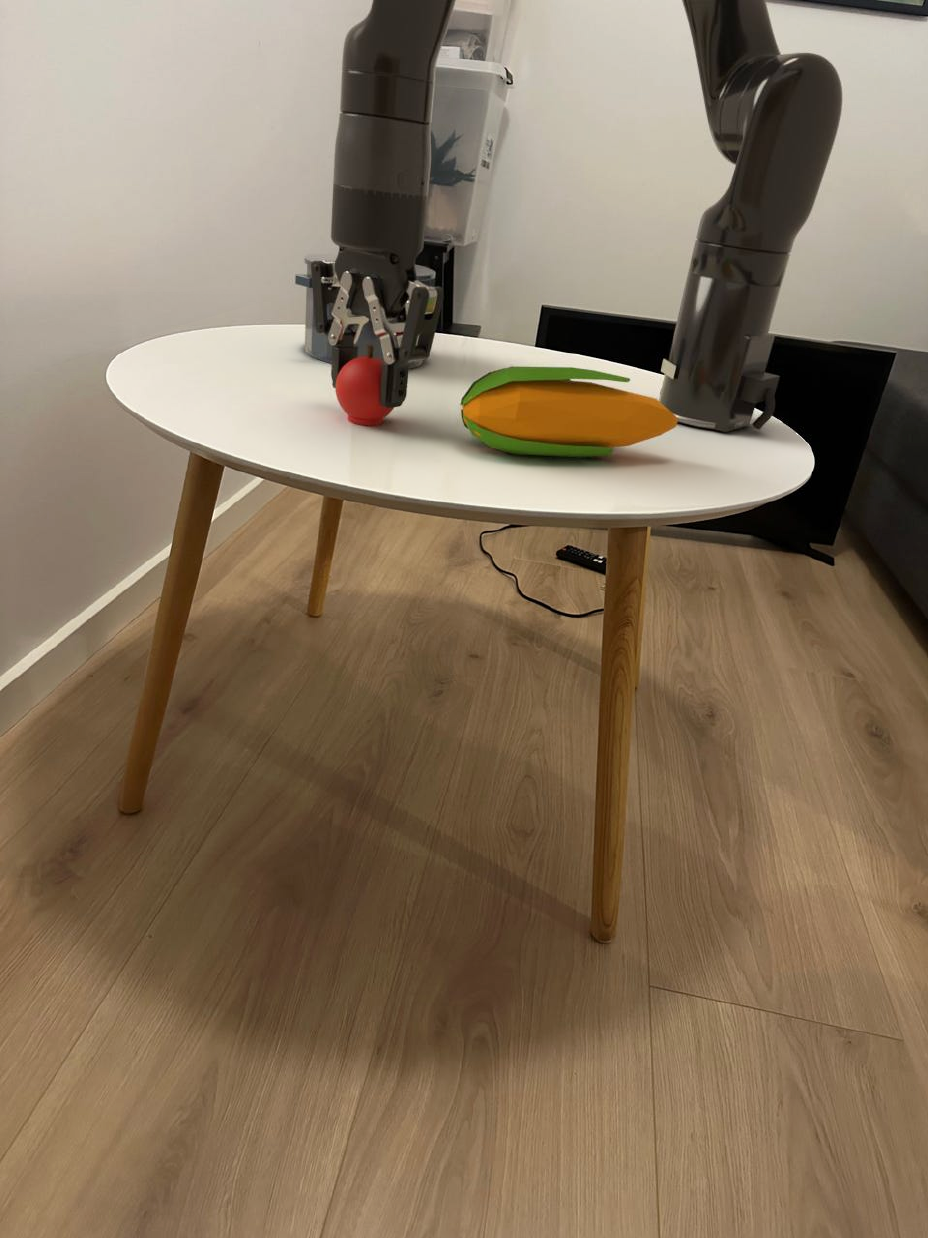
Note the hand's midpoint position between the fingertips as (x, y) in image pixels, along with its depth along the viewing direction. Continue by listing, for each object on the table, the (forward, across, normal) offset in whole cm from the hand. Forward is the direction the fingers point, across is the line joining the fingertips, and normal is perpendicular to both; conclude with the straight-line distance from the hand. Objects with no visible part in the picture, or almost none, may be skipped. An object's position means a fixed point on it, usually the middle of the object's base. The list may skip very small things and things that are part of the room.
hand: (366, 396), depth 76 cm
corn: (+2, -15, -10) cm, 18 cm away
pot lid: (-7, +20, -18) cm, 28 cm away
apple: (+2, 0, 0) cm, 2 cm away
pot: (+2, +20, -18) cm, 27 cm away
